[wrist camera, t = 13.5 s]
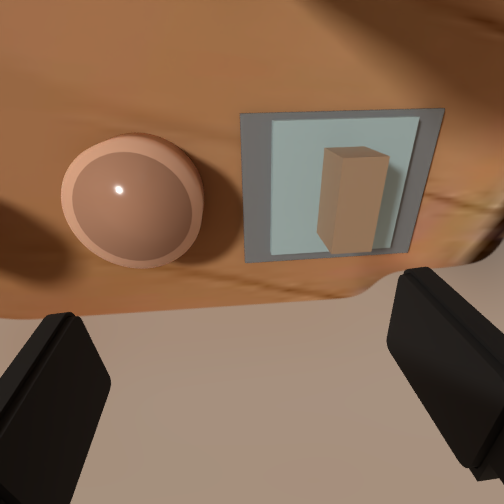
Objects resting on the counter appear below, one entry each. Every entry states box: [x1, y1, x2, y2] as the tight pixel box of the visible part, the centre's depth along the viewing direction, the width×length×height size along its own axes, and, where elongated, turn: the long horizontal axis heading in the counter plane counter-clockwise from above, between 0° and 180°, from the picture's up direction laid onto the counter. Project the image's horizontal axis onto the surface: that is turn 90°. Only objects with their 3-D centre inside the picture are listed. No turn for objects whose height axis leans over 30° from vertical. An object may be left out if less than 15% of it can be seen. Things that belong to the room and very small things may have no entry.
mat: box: [240, 108, 445, 263], centre depth 33 cm, size 20×16×1 cm
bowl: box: [61, 133, 204, 268], centre depth 29 cm, size 12×12×5 cm
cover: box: [270, 116, 420, 255], centre depth 30 cm, size 14×14×6 cm
